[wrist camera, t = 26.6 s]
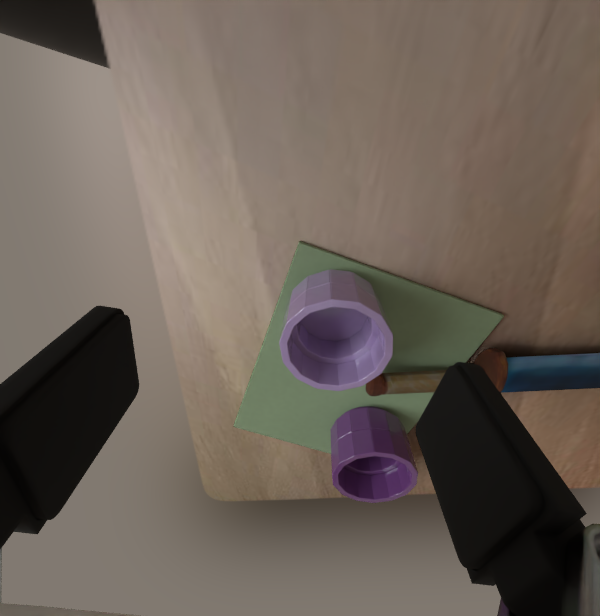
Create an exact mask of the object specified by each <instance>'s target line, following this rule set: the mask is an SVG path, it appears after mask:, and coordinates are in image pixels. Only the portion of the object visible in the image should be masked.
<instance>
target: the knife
mask: <svg viewBox="0 0 600 616" xmlns="http://www.w3.org/2000/svg"><path fill="white" fill-rule="evenodd" d="M474 364H477V365H479V366H481V367H482V368H483V370H484V371H485V373H486V374H487V375H488V377H489V378H490V380H491V381H492V382H493V384H494V385H495V387H496V388H497V389H498V391H499V392H500V393H501V392H522V391H543V390H565V389H586V388H600V353H591V354H570V355H549V356H528V357H508V358H506V355H505V353H504V352H503V351H500V350H498V349H496V348H489V349H487V350H485V351H483V352H481V353H480V354H479V355H478V357H477V358H476V360H475V362H474ZM445 372H446V370H435V371H414V372H393V373H381V374H380V375H379V376H377V377H376V378H374V379H373V380H371V381H369V382H368V383H366V392H367V394H368V395H370V396H380V395H385V394H406V393H428V392H435V390H436V388H437V387H438V385H439V383H440V381H441V379H442V378H443V376H444V374H445Z"/></svg>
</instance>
